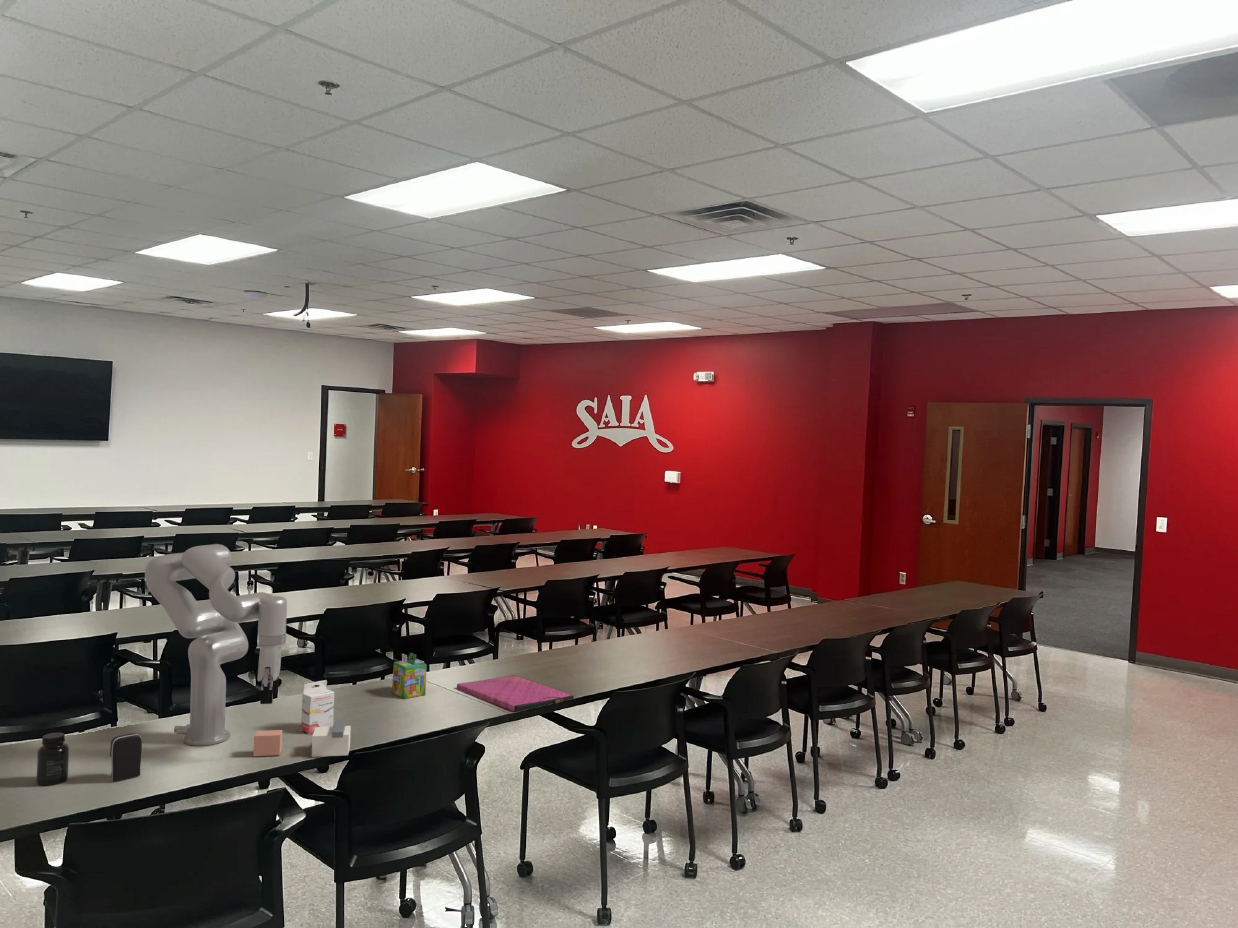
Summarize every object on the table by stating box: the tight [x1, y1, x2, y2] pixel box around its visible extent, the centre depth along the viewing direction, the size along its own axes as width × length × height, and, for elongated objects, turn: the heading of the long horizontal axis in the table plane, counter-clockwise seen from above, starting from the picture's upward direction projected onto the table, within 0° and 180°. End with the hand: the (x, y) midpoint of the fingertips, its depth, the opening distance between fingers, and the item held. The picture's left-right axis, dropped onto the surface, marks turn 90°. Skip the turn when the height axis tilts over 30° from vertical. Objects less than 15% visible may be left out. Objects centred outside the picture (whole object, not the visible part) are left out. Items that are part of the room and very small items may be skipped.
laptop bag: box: [456, 674, 574, 713], centre depth 312 cm, size 40×4×27 cm
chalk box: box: [391, 652, 428, 700], centre depth 307 cm, size 9×9×15 cm
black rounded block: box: [109, 732, 143, 782], centre depth 224 cm, size 7×4×11 cm, turn 137°
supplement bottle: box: [36, 732, 70, 787], centre depth 220 cm, size 7×7×12 cm
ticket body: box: [309, 718, 352, 758], centre depth 249 cm, size 11×12×8 cm
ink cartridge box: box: [300, 679, 335, 735], centre depth 267 cm, size 9×5×15 cm, turn 141°
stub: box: [253, 729, 283, 757], centre depth 245 cm, size 7×4×6 cm, turn 104°
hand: (269, 698), depth 245 cm, fingers open, 9 cm apart
